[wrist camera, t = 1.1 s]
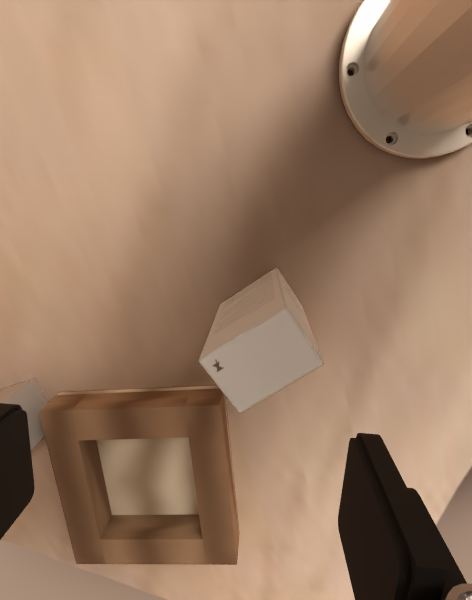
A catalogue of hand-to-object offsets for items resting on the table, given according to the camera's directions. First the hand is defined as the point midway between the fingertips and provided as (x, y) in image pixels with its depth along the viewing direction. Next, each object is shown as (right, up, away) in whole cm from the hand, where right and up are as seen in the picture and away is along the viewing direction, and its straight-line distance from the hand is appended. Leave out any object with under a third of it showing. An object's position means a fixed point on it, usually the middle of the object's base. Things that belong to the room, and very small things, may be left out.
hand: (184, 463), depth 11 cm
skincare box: (+4, +4, +22) cm, 23 cm away
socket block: (-7, -12, +27) cm, 30 cm away
